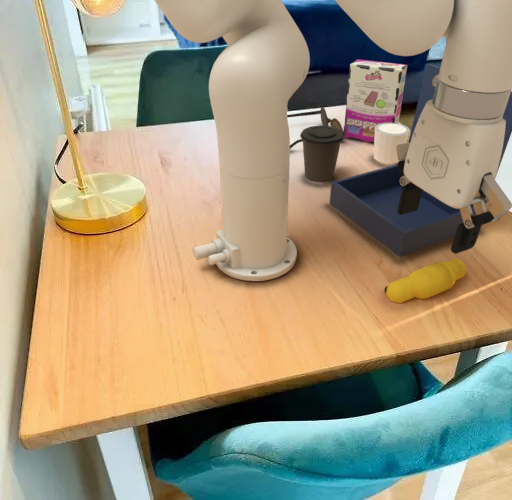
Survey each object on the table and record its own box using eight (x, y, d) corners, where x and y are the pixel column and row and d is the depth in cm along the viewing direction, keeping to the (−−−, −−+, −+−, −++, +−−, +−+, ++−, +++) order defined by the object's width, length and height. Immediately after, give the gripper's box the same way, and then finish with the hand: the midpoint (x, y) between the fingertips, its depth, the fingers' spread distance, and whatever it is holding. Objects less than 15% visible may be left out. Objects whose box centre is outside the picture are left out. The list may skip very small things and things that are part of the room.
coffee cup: (293, 184, 96) (295, 135, 91) (303, 167, 103) (306, 119, 97) (335, 191, 94) (340, 140, 88) (343, 172, 101) (348, 124, 95)
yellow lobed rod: (400, 315, 66) (405, 292, 64) (379, 297, 69) (384, 274, 67) (474, 284, 72) (481, 262, 69) (452, 269, 75) (458, 246, 72)
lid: (521, 95, 70) (543, 93, 72) (427, 63, 84) (447, 62, 86) (483, 204, 79) (503, 199, 81) (403, 160, 93) (422, 156, 95)
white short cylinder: (405, 168, 102) (411, 135, 98) (371, 166, 103) (375, 133, 99) (403, 154, 107) (408, 122, 103) (370, 152, 108) (374, 121, 104)
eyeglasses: (344, 146, 111) (347, 124, 108) (280, 154, 108) (280, 131, 105) (320, 122, 123) (322, 102, 120) (261, 129, 120) (261, 108, 117)
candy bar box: (396, 139, 114) (409, 64, 105) (390, 147, 110) (402, 70, 101) (349, 130, 118) (357, 57, 109) (342, 138, 115) (349, 63, 105)
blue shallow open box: (398, 260, 76) (404, 233, 74) (329, 206, 90) (331, 181, 87) (476, 232, 83) (484, 206, 80) (400, 185, 96) (404, 161, 93)
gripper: (390, 80, 60) (367, 205, 70) (511, 133, 47) (462, 276, 57) (437, 72, 63) (409, 193, 73) (563, 121, 50) (507, 258, 60)
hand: (432, 229), depth 65 cm, fingers open, 9 cm apart
